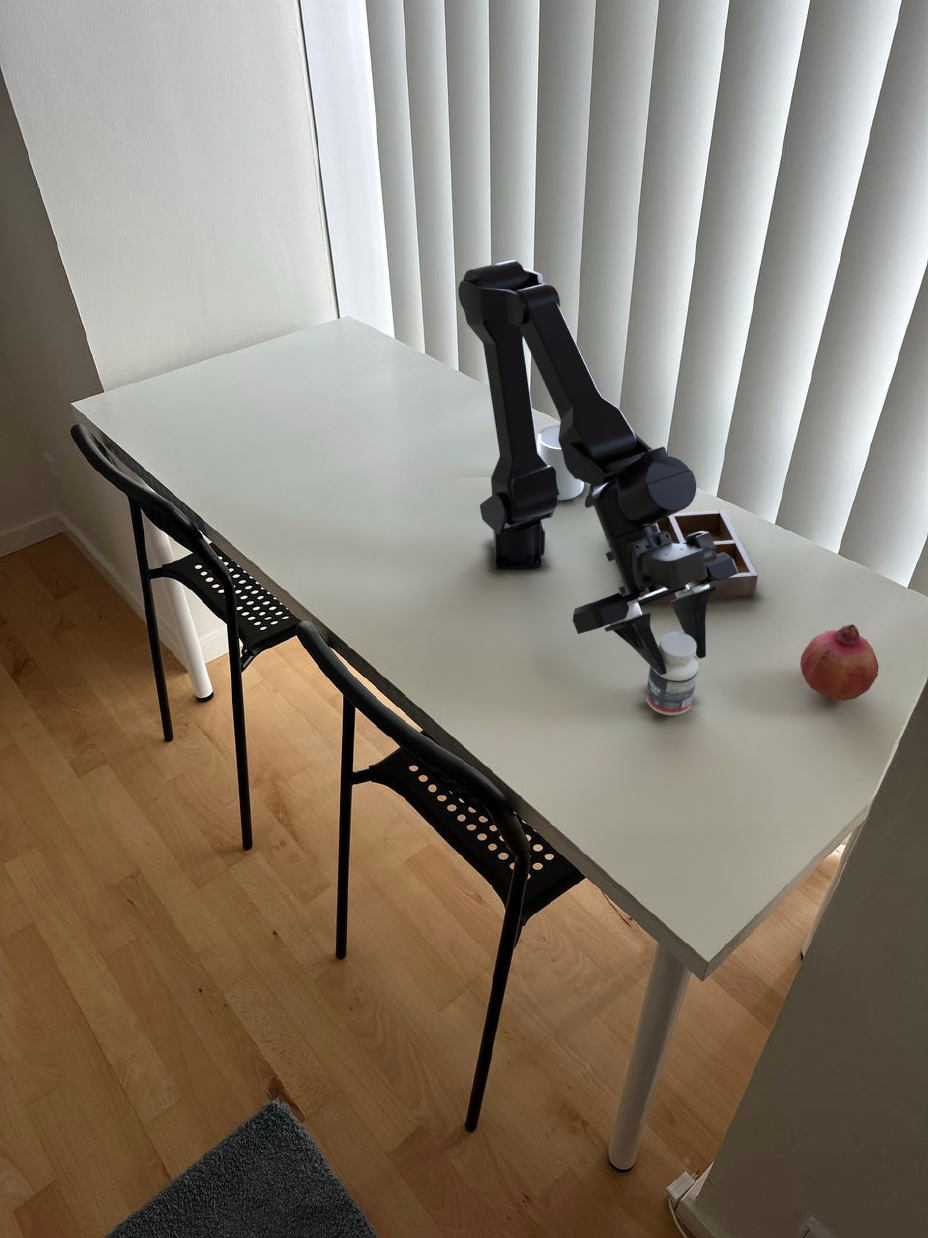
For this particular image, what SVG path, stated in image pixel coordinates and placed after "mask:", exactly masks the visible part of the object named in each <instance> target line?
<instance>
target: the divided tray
mask: <svg viewBox="0 0 928 1238" xmlns="http://www.w3.org/2000/svg"><path fill="white" fill-rule="evenodd" d="M656 524H657V525H658V527H659V530H660V532H661V531H664V530H667V532H668V533H669V534H670V536H671V538H672V541H673V542H674V543H675V544H680V543H682V542H685V541H687V537H688V536H689V535H691V534H694V533H697V532H699V531H705V532H709V534H710V536H711V538H712V540H713V542H714V544H715V547H716V553H717V555H718V554H721V553H723V552H725V553H726V554H727V555H728V556H730V557H731V558H732V559H733V560H734V562H735V565H736V567H737V570H738V572H739V573H738V574H736V575H733V576H731V577H728V578H726V579H723V580H721V581H718V582H716V581H713V582H710V583H709V586H710V588H711V587H714V586H718V588H717V591H715V592H713V593H712V594H711V596H710V599H709V601H711V600H712V601H713V600H714V601H715V600H727V599H741V598H754V596H755V592H756V588H757V587H756V586H757V583H758V578H759V575H758V573H757V571H756V569H755V567H754V565H753V563H752V561H751V560H750V556H749V555H748V554H747V551H746V550H745V547H744V545H743V544H742V542H741V540H740V538H739V536H738V534H737V532H736V530H735V528H734V526H733V525H732V522H731V521H730V519H729V517H728V515H727V513H726V511H725V510H724V509H721V510H720V509H719V510H705V511H704V510H703V511H689V512H677V513H674V514H672V515H670V516H668V517H666V518H664V519H661V520H659V521H657V523H656ZM658 586H659V589H660V588H662V587H664V586H661V585H658ZM645 590H646V591H644V592H641V593H640V595H641V596H642V595H644V594H647V593H649V591H648V589H647V588H645ZM675 599H677V598H676V595H675V593H674V594H671V595H668V596H666V597H663V598H661V599H658V600H656V601H653V602H650V603H648V604H647V605H657V604H669V603H670V601H673V600H675ZM670 604H671V603H670Z"/></svg>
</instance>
